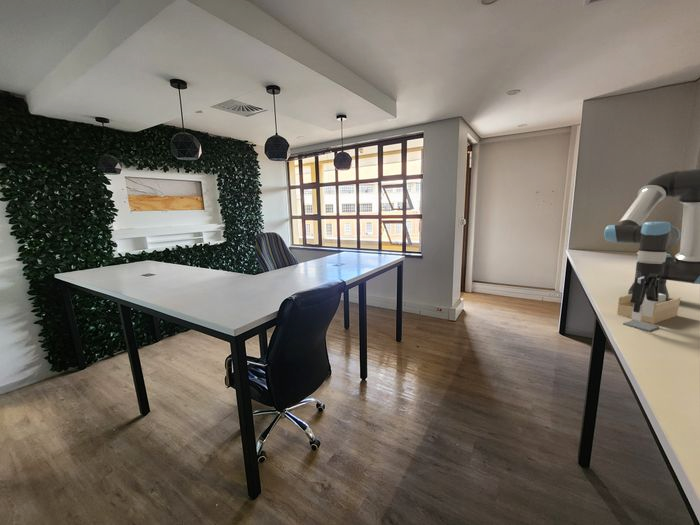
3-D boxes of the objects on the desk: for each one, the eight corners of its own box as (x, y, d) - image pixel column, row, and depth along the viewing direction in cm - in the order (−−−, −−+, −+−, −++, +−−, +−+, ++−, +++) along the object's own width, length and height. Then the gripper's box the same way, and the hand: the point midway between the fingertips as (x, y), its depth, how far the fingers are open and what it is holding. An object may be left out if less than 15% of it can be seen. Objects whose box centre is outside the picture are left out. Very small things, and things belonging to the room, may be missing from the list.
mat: (633, 321, 122) (633, 320, 122) (659, 328, 114) (659, 326, 114) (622, 324, 119) (622, 323, 118) (648, 331, 111) (649, 330, 111)
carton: (640, 307, 138) (643, 291, 136) (677, 315, 127) (680, 297, 125) (616, 314, 130) (619, 297, 128) (653, 324, 118) (656, 304, 117)
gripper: (651, 258, 120) (642, 311, 123) (623, 262, 111) (615, 319, 115) (676, 261, 113) (667, 316, 117) (650, 265, 105) (640, 325, 108)
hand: (641, 317), depth 116 cm, fingers open, 8 cm apart
